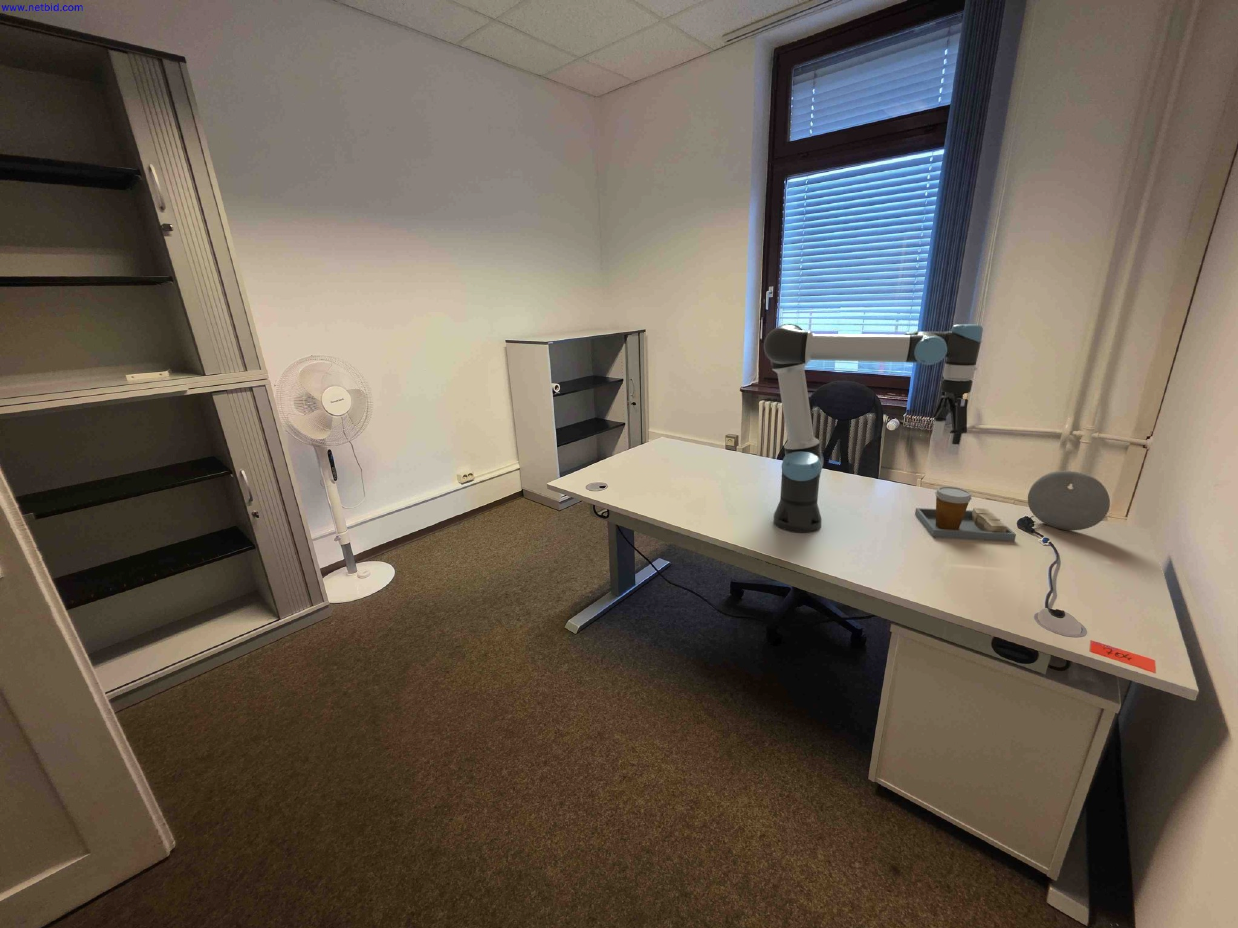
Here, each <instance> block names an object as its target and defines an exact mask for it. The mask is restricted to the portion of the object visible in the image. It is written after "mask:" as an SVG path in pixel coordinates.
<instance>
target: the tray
mask: <svg viewBox="0 0 1238 928" xmlns="http://www.w3.org/2000/svg"><path fill="white" fill-rule="evenodd" d="M972 512H973V509H972V510H970V509H969V510H967V509H966V511H965V514H964V517H963V519H962V522H961V525H960V527H959V529H958V530H946V529H941V528H939V527H937V526H936V508H922V507H921V508H919V507H915V511H914V515H915V517H916V518H917V519H918V521H919V522H920V523H921V525H922V526H923V528H925V530H926V531H927V532H928V533H929V535H930V536H931V537H932V538H940V539H943V538H944V539H956V540H958V539H959V540H960V539H961V540H974V541H992V542H993V541H994V542H995V541H996V542H1012V543H1015V541H1016V536H1017V533H1015V532H1014V531H1013V530H1012V529H1011V528H1009V527H1008V526H1007V529H1006V533H1003V532H984V531H983V530H981V529H980V528H978V527H977V526H976V524H974V523H973V521H972V520H971V517H972ZM992 515H994V516H996V515H995V514H993V513H992Z"/></svg>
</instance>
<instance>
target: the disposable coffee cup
mask: <svg viewBox="0 0 1238 928" xmlns="http://www.w3.org/2000/svg"><path fill="white" fill-rule="evenodd" d="M934 494H935V496H936V497H935V499H936V500H935V509H936V526H937V527H939V528H941V529H946V530H958V529H959V527H960V525H961V522H962V519H963V517H964V514H965V511H966V510H967V509H968V506H969V503H970V501H972V496H971V495H972V494H971V492H970V491H969V490H967V489H964V488H960V487H958V486H957V487H956V486H940V487H938V488H937V490H936V491H935V492H934Z"/></svg>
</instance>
